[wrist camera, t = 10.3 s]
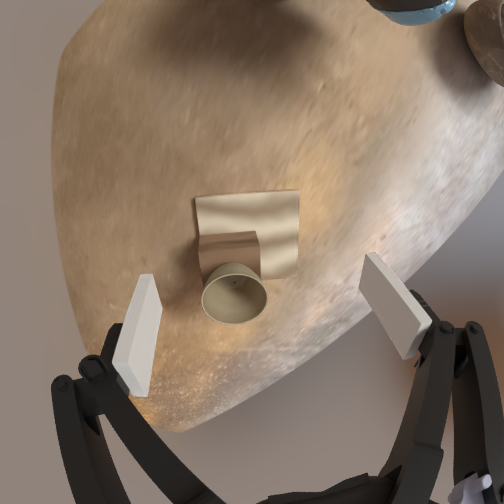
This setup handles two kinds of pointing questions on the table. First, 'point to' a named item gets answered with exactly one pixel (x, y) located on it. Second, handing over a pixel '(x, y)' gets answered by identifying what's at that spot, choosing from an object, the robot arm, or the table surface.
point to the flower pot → (234, 295)
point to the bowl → (487, 36)
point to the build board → (257, 224)
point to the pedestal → (228, 251)
